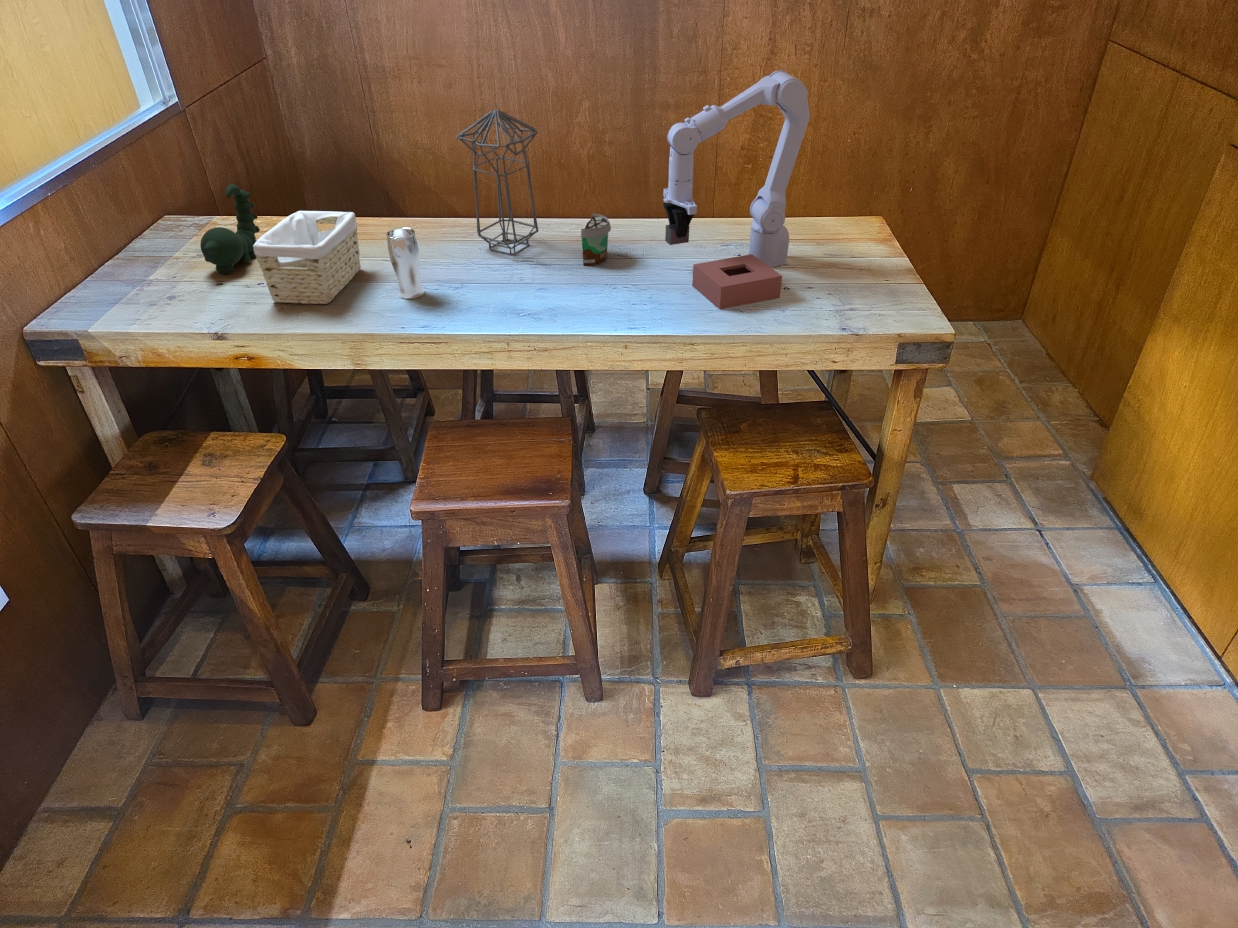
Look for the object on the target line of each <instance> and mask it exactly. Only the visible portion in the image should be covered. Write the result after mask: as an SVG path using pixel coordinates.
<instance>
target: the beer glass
mask: <svg viewBox="0 0 1238 928" xmlns="http://www.w3.org/2000/svg"><path fill="white" fill-rule="evenodd" d="M385 235H386V236H385V237H386V246H387V252H388V255H389V256H388V257H389V260H390V263H391V266H392V269H393V272H394V274H395V277H396V280H397V284H398V285H397V290H398V291H397V295H398V297H400V298H401V299H405V300H413V299H417V298H420V297H422V296H423V295H424V294H425V290H424V287H423V283H422V281H421V254H420V247H419V242H418V238H417V234H416V230H415V229H413V228H410V227H396V228H392V229H390V230H387V232H386V233H385Z"/></svg>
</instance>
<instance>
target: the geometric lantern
mask: <svg viewBox="0 0 1238 928" xmlns="http://www.w3.org/2000/svg"><path fill="white" fill-rule="evenodd" d="M492 124H493V125H494V124H495V132H496V141H497V142H496V143H497V144H490V143H488V142H487V141H486V140H487V138H488V136H489V131H490V130H491V127H492ZM478 125H479V126H478ZM518 125H520V126H522V128H521V127H519V126H518ZM476 126H478V127H476ZM475 127H476V129H475V130H474V131H473V132H469V131H471V130H472V129H474V128H475ZM523 127H524V128H523ZM499 128H500V130H501V134H502V137H503V138H502V139H503V142H504V143H503V144H504V145H501V141H500V133H499V132H500V131H499ZM509 130H512V134H511V133H510V131H509ZM517 130H518V131H519V132H520V134H519V133H518V132H517ZM467 132H468V133H467ZM484 132H485V133H484ZM524 132H530V133H529V134H528V135H526V136H525V137H523V135H524V134H523V133H524ZM483 133H484V136H483ZM504 133H505V134H506V136H508V138H509V141H508V143H507V141H506V138H505V134H504ZM538 133H539V131H538V129H537V128H536V127H533V126H531V125H530V124H528V123H525V122H524V121H522V120H520V119H517V118H515V117H514V116H512V115H509V114H507V113H506V112H504V111H502V110H500V109H491V110H490V111H489V112H487V113H486V114H485V115H483V116H482V117H481V118H479V119H478V120H476V121H475V122H474V123H473V124H471V125H470V126H468V127H467V128H466V129H464V130H463V131H461V132H460V133H459V134H457V135H455V137H456V138H455V139H456V140H459V141H460V142H462V143H463V145H464V146H465V147H467V148H468V149H469V150H470V151H471V152H472V153H473V158H472V159H473V162H472V163H473V168H472V173H473V186H474V197H475V198H474V199H475V212H476V215H475V216H476V234H477V236H478V237H479V238H481V240H483V241H485V242H486V243H488V250H490V251H491V252H495V253H500V254H505V255H509V256H514V255H516V254H518V253H520V252H522V251H523V250H525V249H527V248H528V247H530V242H529V239H530V238H532V236H534V235H535V234H536V233H539V226H538V225H539V224H538V220H537V214H536V208H535V200H534V196H533V188H532V187H533V186H532V185H533V184H532V178H531V167H530V164H531V163H530V160H529V158H528V155H527V152H526V148H528V146H529V145H530V143H532V141H533V139H534V138H535V137H536V136H537V134H538ZM475 135H476V136H475ZM515 135H516V136H517V138H518V139H516V138H515ZM467 136H472V139H470V138H467ZM479 138H480V141H477V140H478V139H479ZM527 140H528V141H527ZM466 141H467V142H469V143H471V146H470V145H469V144H468V143H467V142H466ZM525 141H527V142H526V144H524V142H525ZM516 144H521V147H522V148H521V149H520V150H519V151H517V147H516ZM511 145H513V147H514V150H513V149H512V148H511V147H510V146H511ZM476 146H479V147H480V151H481V153H480V152H479V153H478V152H477V150H476ZM484 147H485V148H486V147H487V148H489V150H488V151H486V152H485V153H484V150H483V148H484ZM499 148H505V149H504V152H503V153H502V156H499V155H498V154H497V153H496V150H498V149H499ZM507 151H509V152H511V154H513V155H514V156H513V158H511V157H505V156H506V154H507ZM491 153H493V154H495V156H494V157H491V158H488V155H490V154H491ZM521 153H522V155H523V158H524V160H520V159H515V158H516V156H518V155H520V154H521ZM476 156H477V158H476ZM480 157H484V158H485V160H484V161H482V162H479V158H480ZM494 159H495V166H496V167H495V166H494V165H493V163H492V162H491V161H492V160H494ZM499 160H502V168H503V174H501V173H500V172H499ZM505 160H509V161H511V162H510V165H509V166H508V169H506V162H505ZM487 162H488V164H489V165H490V167H491V168H492V169H493V171H494V173H493V172H489V171H485V170H481V169H478V166H481V165H483V164H485V163H487ZM514 162H519V163H524V164H525V165H524V166H523V165H522V167H520V168H517V169H514V170H512V171H510V170H511V167H512V165H513V163H514ZM525 168H526V175H527V176H526V177H527V181H528V187H529V193H530V200H531V201H530V202H531V210H532V218H533V224H530V223H526V222H522V221H518V220H514V215H513V208H512V201H511V194H510V188H509V187H510V186H509V180H508V176H509V175H512V174H514V173H516V172H518V171H520V170H522V169H525ZM478 172H479V173H484V174H488V175H492V176H496V186H497V205H498V206H497V207H498V220H497V221H495V222H493V223H491V224H489V225H487V226H486V227H484V228H482V229H481V223H480V222H481V221H480V212H479V199H478V198H479V197H478V196H479V195H478V175H477V173H478ZM502 177H504V185H505V187H504V188H505V194H506V203H507V204H506V205H507V214H508V219H507V218H506V219H505V216H504V215H505V213H504V204H503V194H502V186H501V185H502V184H501V178H502ZM506 222H507V225H505V223H506ZM510 223H511V226H512V232H513V233H512V232H509V226H510ZM497 224H499V225H500V228H501V231H502V232H501V233H499V234H498V235H497V236H495V237H494V238H491V237H488V236H486V235H485V236H484V235H483V234H481V233H482V232H484V231H486V230H488V229H490V228H491V227H493V226H496V225H497ZM515 224H520V225H523V226H527V227H531V230H530V231H529V232H528V233H527V235H524V234H523V235H522V234H517V233H516V228H515ZM534 229H535V230H534ZM533 230H534V231H533ZM509 235H511V236H513V238H514V239H509ZM500 236H501V237H502V240H497V239H498V238H499V237H500ZM517 237H521V238H519V239H517ZM507 241H508V242H507ZM493 242H494V243H493ZM521 244H524V245H525V246H523V247H522V248H520V249H519V250H517V251H516V248H517V247H518V246H519V245H521ZM510 245H513V246H512V247H511V246H510ZM495 246H497V247H500V248H505V249H508V250H509V252H505V251H501V250H496V249H492V248H494V247H495ZM512 250H513V253H512Z"/></svg>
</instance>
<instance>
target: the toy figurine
mask: <svg viewBox="0 0 1238 928" xmlns="http://www.w3.org/2000/svg"><path fill="white" fill-rule="evenodd" d="M231 195H233V199H234V200H235V202H234V209H235V210H236V214H235V218H236V220H237V223H236V231H235V232H234V231H233V230H231V229H229V228H226V227H220V226H219V227H213V228H210V229H208V230H207V231H205V233H204V234H203V235H202V237H201V239H200V244H199V245H200V250H201V251H200V252H201V253H202V255H203V257H204V260H205V262H207V263H211V264H212V265H215V270H216V271H217V272H218V273H219V274H221V275H230V274H232V273H234V271H235V266H234V265H235V264H237V263H238V262H239V261H240V262H242V263H243V264H248V263H249V262H250V261H251V258H252V259H254V257H255V258H257V257H256V255H255V253H254V248H253V245H254V244H255V242H256V241H257V239H256V235H255V234H256V233H259V232H260V227H259V226H257V225H256V224H255V222H254V221H255V220H257V219H258V215H257V213H253V212H252V209H253V208H254V207H255V204H254V202H252V201H249V198H251V196H252V195H251V193H250V192H247V191H246V190H244V189H241V188H240V186H238V185H236V184H232V183H231V184H228V185H227V186H226V188H225V196H226V198H227V199H230V198H231Z"/></svg>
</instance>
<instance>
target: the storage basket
mask: <svg viewBox="0 0 1238 928" xmlns="http://www.w3.org/2000/svg"><path fill="white" fill-rule="evenodd" d="M355 213H356V212H355ZM355 213H354V212H353V211H330V210H329V211H326V210H325V211H323V210H322V211H321V210H298V211H296V212H294V213H292V214H290V215H288V216H287V217H285V218H284V219H282V220H281V221H279V222H278V223H277V224H276V225H274V226H273V227H272V228H270V229H269V230H267V232H265V233H264V234H262V235H261V236H260V237H259V238H258V239H256V242H255V244H254V245H253V250H254V253H255V255H256V257H255V258H256V261H257V263H258V264H259V267H260V269H261V272H262V275H263V279H264V280H265V282H266V286H267V288H268V291H269V295H270V296H271V297H270V299H271V300H272V301H273V302H276V303H284V304H286V303H287V304H289V303H291V304H303V305H308V304H313V305H319V304H320V305H326V304H329V303H330V302H332V301H333V300H334V298H335V297H336V296H338V294H339V293H340V292H341V291H342V290H343V289H344V288H345V287H346V286H347V285H348V284H349V283H350V282H351V281H350V280H353V278H354V276H355V275H356V274H357V275H358V273H359V271H360V270H361V268H362V266H361V260H360V257H361V255H360V248H359V239H358V222H357V217H356V214H355ZM318 224H321V225H322V224H329V225H334V227H332V228H329V229H326V230H323V231H320V230H319V226H318ZM349 281H350V282H349Z"/></svg>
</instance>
